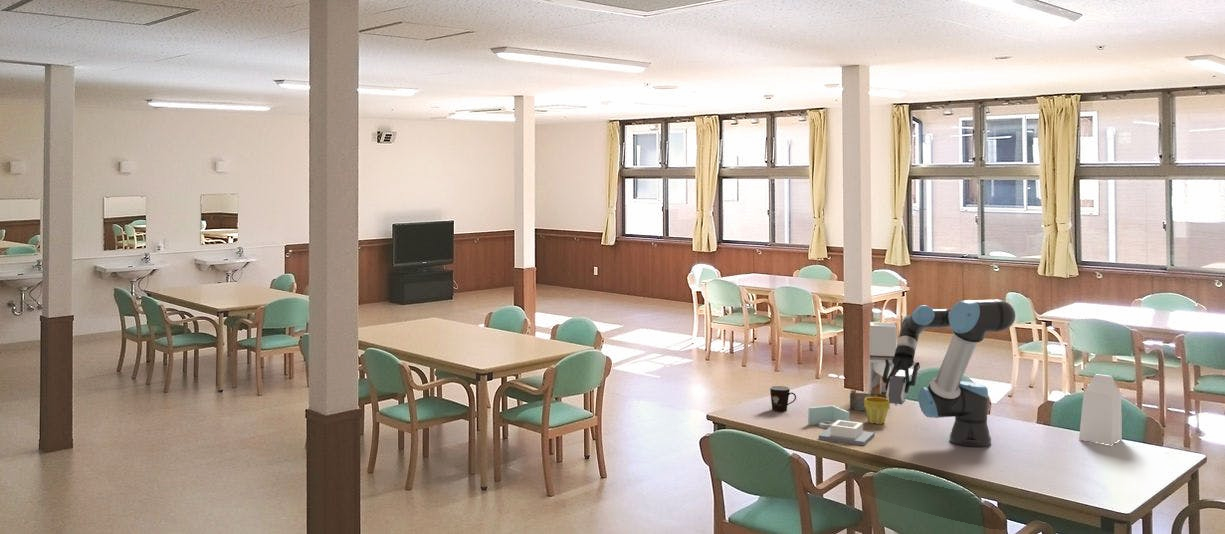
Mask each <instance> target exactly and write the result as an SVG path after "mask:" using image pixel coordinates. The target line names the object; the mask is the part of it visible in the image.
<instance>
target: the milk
mask: <svg viewBox="0 0 1225 534" xmlns="http://www.w3.org/2000/svg"><path fill="white" fill-rule="evenodd" d="M1082 396H1083V397H1082V405H1081V414H1080V417H1081V418H1080V425H1079V435H1078V441H1081V440H1084V441H1083V442H1086V441H1091V442H1098V443H1104V444H1109V445H1112V444H1114V443H1115V442H1117V441H1118V440H1122V441H1123V439H1122V438H1123V437H1122V436H1123V435H1122V434H1123V432H1122V431H1123V428H1122V424H1123V419H1122V417H1123V416H1122V392H1121V390H1120V389H1119V387H1118V386H1117V385H1116V383H1115V380H1114V378H1113V375H1107V374H1102V373H1101V374H1100V373H1099V374H1098V373H1095V374H1094V376H1093V377H1092V378H1091V381H1090V382H1089V384H1088V385H1087V387H1086V389H1085V391H1084V392H1083V395H1082ZM1091 442H1090V443H1091Z"/></svg>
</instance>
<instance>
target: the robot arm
mask: <svg viewBox="0 0 1225 534" xmlns="http://www.w3.org/2000/svg"><path fill="white" fill-rule="evenodd" d="M1015 320H1016V312H1015V309H1014V307H1013V306H1012V305H1011V304H1010V303H1009V302H1007V301H1005V300H1003V299H978V300H977V299H976V300H973V299H966V300H960V301H957V302H956V303H954V305H952V307H951V308H936V309H935V308H932V307H931V306H928V305H925V304H922V305H919V306H918V307H917V308H916V309H915V310H913V311H912V313H911V314H908V315H906V316H904V317H903V319H902V322H901V323H900V324H901V325H900V330H899V334H898V339H897V341H896V351H895V355H894V358H893V359H892V360H888V359H886V360H885V362H886V366H885V369H884V373H883V377H882V379H883V383H886V386H885V389H886V391H887V393H886V397H887V399H889V381H890V377H891V376H897V373H899V371H904V377H906V379H905V383H904V385H903V389H902V393H901V400H902V401H904V397H905V398H906V394H908V393H909V391H910V387H911V386H912V387H914V386H915V385H916V381H917V376H918V371H919V370H920V368H921V364H920V362H919V361H915V355H916V349H917V345H918V340H919V336H920V334H921V333H923V331H924V330H926V329H939V328H941V329H943V328H951V332H952V333H953V335H952V337H951V340H950V342H949V345H948V348H947V350H946V353H945V355H944V358H943V360H942V362H941V365H940V368H939V370H938V373H937V375H936V377H934V378H931V380H930V381H929V383H928V386H927V387H926V386H924V387H921V388H920V389H919V391H918V395H917V398H918V404H919V408H920V410H921V412H922V414H923V416H925V417H927V418H933V419H939V418H940V419H941V418H952V417H954V422H953V426H952V428H951V432H950V433H949V441H950V442H951V443H952V444H956V445H960V446H962V447H963V446H964V447H971V448H972V447H974V448H977V447H978V448H980V447H981V448H983V447H988V446H990V445H991V444H992V437H991V435H990V431H989V426H988V406H989V405H988V402H989V392H988V391H989V389H988V388H987V386H985V385H983V384H980V383H978V382H977V383H976V382H971V381H963V380H962V379H963V377H964V376H965V375H964V374H965V373H966V370H967V368H968V365H969V363H970V360H971V358H972V355H973V353H974V351H975V349H976V346H977V344H978V343H979V344H980V343H981V342H983V341H984V338H985V336H986V334H987V333H994V332H996V333H997V332H1003V331H1006V330H1008V329H1009V328H1011V327H1012V326H1013V325H1014V323H1015ZM892 363H893V364H894V367H893V369H892V371H891V373H890V375H889V376H888V373H889V369H890V366H891V364H892ZM912 366H913V370H912V373H911V374H912V375H911V379H910V370H909V369H911V367H912ZM887 377H888V378H887Z"/></svg>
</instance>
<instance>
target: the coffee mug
mask: <svg viewBox="0 0 1225 534" xmlns="http://www.w3.org/2000/svg"><path fill="white" fill-rule="evenodd" d="M769 389H770V390H769V391H770V400H771V401H770V402H771V411H772V412H776V411H778V412H777V413H784V411H785V412H787V411H788V406H789V405H790V404H792V403H794V402H795V401H796V400H797V396H796V395H797V394H795V393H794V392H790V390H791V389H790V387H789V386H786V385H785V386H784V385H773V386H770V387H769ZM790 395H793V397H794V399H793V400H792V401H790V402H789V397H790Z"/></svg>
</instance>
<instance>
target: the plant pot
mask: <svg viewBox="0 0 1225 534" xmlns="http://www.w3.org/2000/svg"><path fill="white" fill-rule="evenodd" d="M890 405H891V403H889V399H886V398H881V397H867V398H865V399H864V406H865V407H866V411H865V412H866V416H867V417H866V418H867V422H868V423H869V422H870V423H869V424H873V423H876V424H875V425H883V424H885V423H886V418H887V413H888V410H889V409H890ZM882 423H883V424H882Z"/></svg>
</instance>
